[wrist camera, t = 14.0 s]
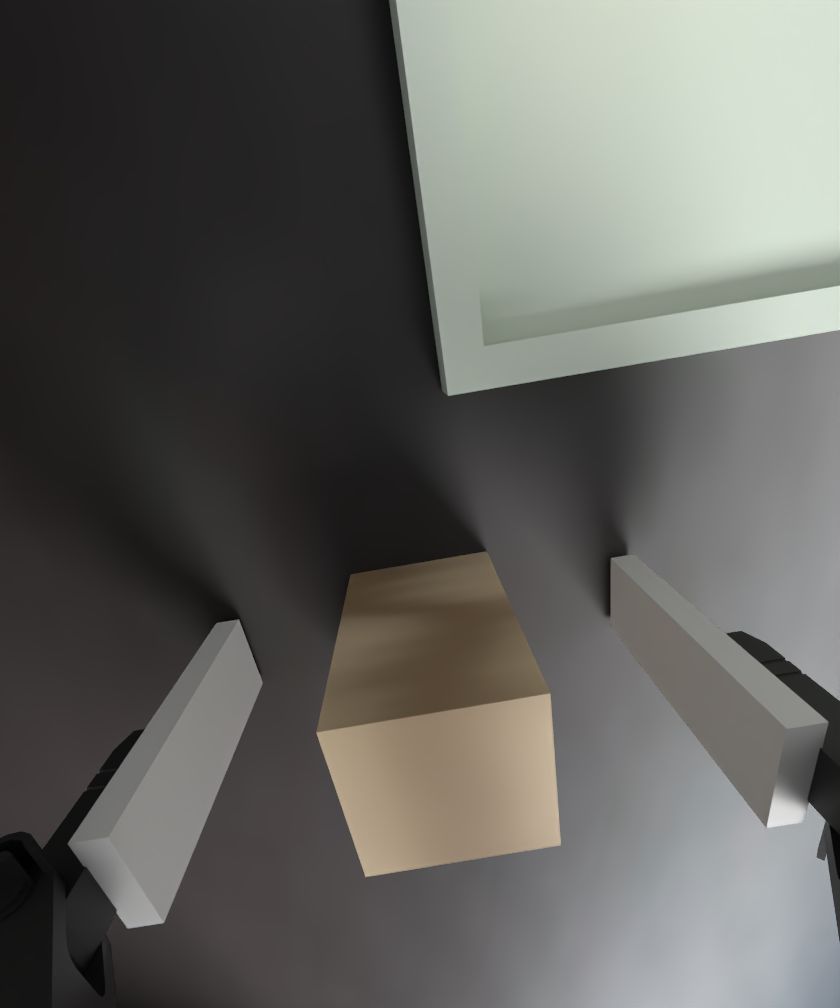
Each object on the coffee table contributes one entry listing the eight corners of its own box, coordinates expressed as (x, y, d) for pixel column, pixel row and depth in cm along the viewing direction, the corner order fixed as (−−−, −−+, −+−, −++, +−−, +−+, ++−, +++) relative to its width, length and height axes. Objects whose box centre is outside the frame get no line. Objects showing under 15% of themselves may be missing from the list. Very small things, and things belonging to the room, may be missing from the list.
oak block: (377, 680, 15) (365, 876, 9) (350, 574, 13) (316, 732, 8) (499, 660, 15) (560, 844, 9) (486, 550, 13) (550, 693, 8)
